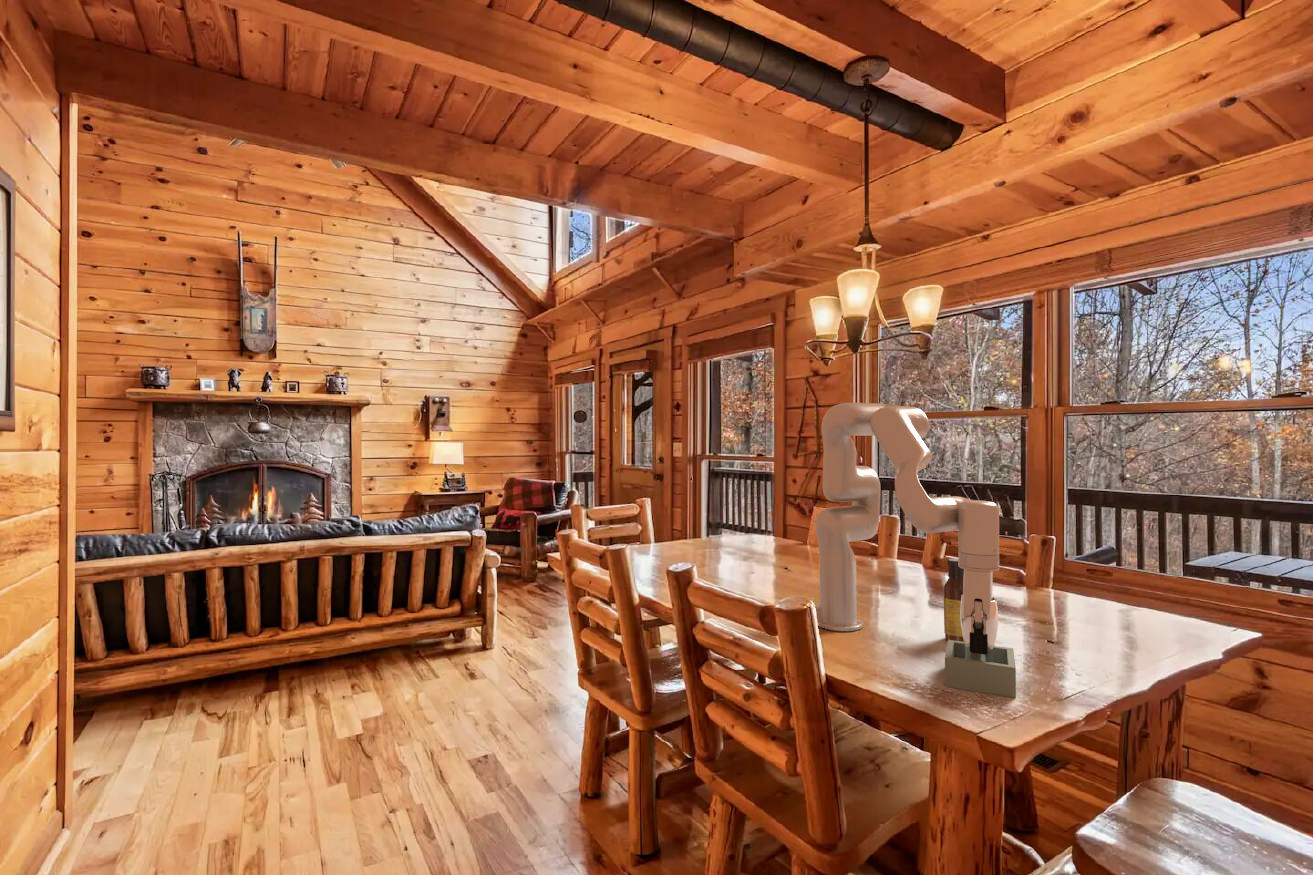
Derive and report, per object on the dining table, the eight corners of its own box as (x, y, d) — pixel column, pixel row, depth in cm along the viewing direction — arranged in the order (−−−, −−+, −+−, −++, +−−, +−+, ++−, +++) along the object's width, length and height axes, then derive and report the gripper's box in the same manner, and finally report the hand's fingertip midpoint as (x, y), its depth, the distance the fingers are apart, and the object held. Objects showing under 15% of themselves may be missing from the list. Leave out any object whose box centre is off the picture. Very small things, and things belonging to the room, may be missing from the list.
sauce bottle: (975, 645, 150) (975, 563, 150) (947, 644, 151) (947, 562, 151) (967, 637, 156) (967, 557, 156) (941, 635, 158) (940, 557, 158)
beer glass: (953, 664, 132) (953, 593, 132) (984, 662, 132) (984, 592, 132) (972, 676, 125) (972, 602, 125) (1006, 675, 125) (1005, 601, 125)
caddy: (945, 686, 126) (944, 657, 126) (948, 666, 137) (948, 639, 137) (1015, 697, 120) (1015, 667, 120) (1013, 675, 131) (1013, 648, 131)
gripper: (959, 552, 138) (960, 633, 138) (956, 567, 123) (956, 658, 123) (998, 555, 134) (998, 638, 134) (1000, 571, 119) (1000, 664, 119)
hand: (978, 646), depth 129 cm, fingers closed on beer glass, 6 cm apart
